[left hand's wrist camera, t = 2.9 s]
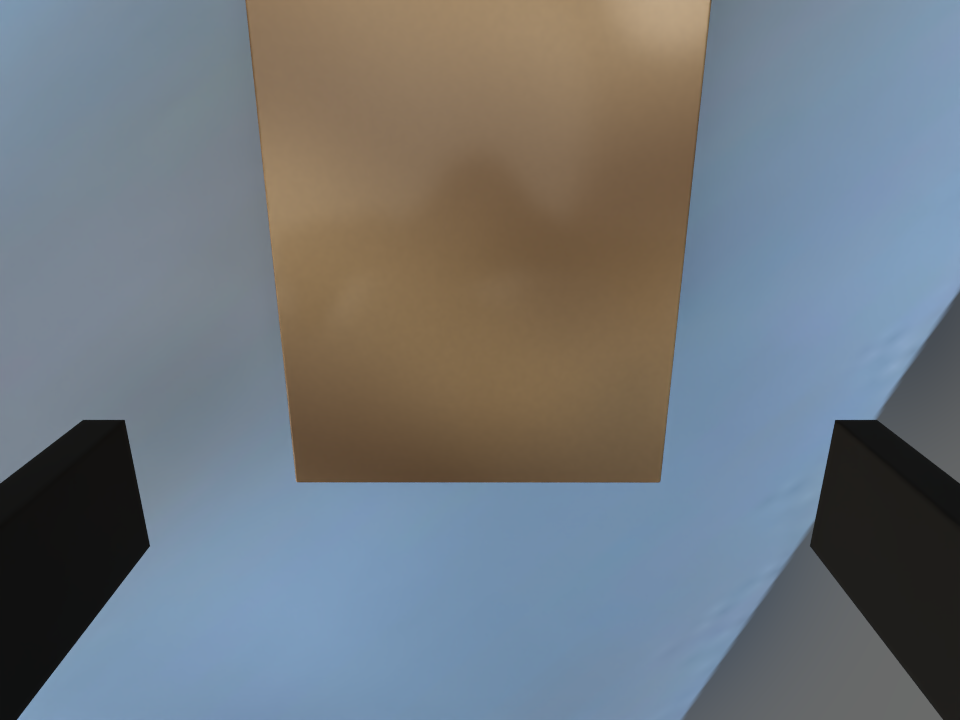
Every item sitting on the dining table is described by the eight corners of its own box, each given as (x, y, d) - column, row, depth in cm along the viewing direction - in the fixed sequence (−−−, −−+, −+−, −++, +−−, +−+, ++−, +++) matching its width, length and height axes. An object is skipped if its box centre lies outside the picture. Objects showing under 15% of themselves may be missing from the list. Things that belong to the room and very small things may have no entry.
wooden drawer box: (325, -191, 25) (197, -446, 13) (632, -190, 25) (759, -444, 14) (359, 355, 32) (295, 482, 21) (597, 355, 32) (660, 483, 21)
